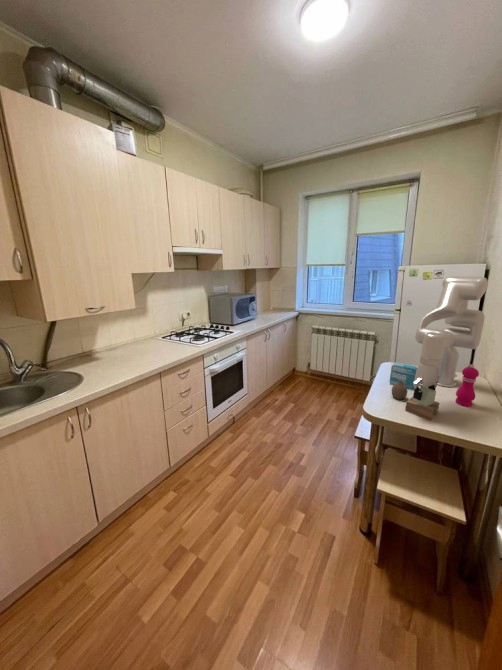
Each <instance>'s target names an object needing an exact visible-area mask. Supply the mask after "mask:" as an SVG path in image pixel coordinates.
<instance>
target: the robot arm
mask: <svg viewBox="0 0 502 670" xmlns="http://www.w3.org/2000/svg"><path fill="white" fill-rule="evenodd" d="M488 286H489V282H488V279H487V278H486V277H483V276H460V275H459V276H448V277H445V278H444V279H443V280H442V290H441V293H440V295H439V296H440V297H439V299H438V302H437V305H436V307H435V308H434V309H432V310H431V311H429V312H428V313H426V314H425V315H424V316H423V317H421V319H420V321H419V322H418V325H417V329H416V331H415V336H414V337H415V338H414V339H415V341H416V343H418V344H421V350H420V351H421V352H420V356H419V357H420V358H419V363H418V365H417V371H416V375H415V379H414V383H413V386H414V387H413V388H414V389H413V394H414V395H413V394H412V397H413V398H415V399H417V400H419V401H420V400H421V398H422V390H423V388H425V387H427V388H429V389H432V390H434V391H436V388H437V386H439V387H440V386H441V387H445V388H455V387H457V381H455V378H457V376H458V374H456V372H457V367H458V362H459V357H460V354H459V351H458V349H457V348H463V349H469V350H475V349H477V348H478V347H479V346H480V343H481V340H482V334H483V329H484V324H485V313H484V312H483V311H482V310H477V309H468V305H469V301H479V300H480V299H481V298H482V297H483V295H485V293H486V291H487V289H488ZM439 320H444V323H445V324H446V325H447V326H449V327H445V328H442V329H437V328H430V327H428V326H429V325H430V324H431V323H433V322H435V321H439ZM456 327H457V328H456ZM461 328H462V329H461ZM463 328H464V329H463ZM419 387H421V388H419Z"/></svg>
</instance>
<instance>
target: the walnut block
mask: <svg viewBox="0 0 502 670" xmlns="http://www.w3.org/2000/svg"><path fill="white" fill-rule="evenodd" d="M412 400H413V396H411V397H410V398H409V399H408V400H406V402H405V409H404V410H405V412H408V413H409V414H412V415H415V416H418V417H421V418H423V419H426V420H428V421H431V420H432V419H433V418H434V417H435V416H436V415H437V413H438V412H439V407H440V402H438V401H436V400H434V404H431V405H428V406H423V405H421V404H419V403H417V402H415V401H412Z"/></svg>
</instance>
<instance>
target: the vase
mask: <svg viewBox="0 0 502 670" xmlns="http://www.w3.org/2000/svg"><path fill="white" fill-rule="evenodd" d="M391 395H392V397H393V398H394V399H396V400H404V399H405V398H407V395H408V389H407V387H406V386H405V384H404V382H403V381H398V382H397V383H396V384H395V385H392V387H391Z"/></svg>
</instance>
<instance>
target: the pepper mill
mask: <svg viewBox="0 0 502 670" xmlns="http://www.w3.org/2000/svg"><path fill="white" fill-rule="evenodd" d="M461 373H462V378H461V379H462V383H461V385H459V387H458V388H457V390H456V392H455V395H456V398H455V403H456V404H458V405H460V406H462V407H466V408H467V407H469V408H470V407H472V406H473V401H474V400H475V399H476V393H475V390H474V384H475V383H476V382H477V381H476V380H477V378H478V377H479V375H480V372H479V370H478V369H477V368H475V365H474V364H472V363H471V364H469V365H468V366H467V367H464V368H463V369H462V371H461Z"/></svg>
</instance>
